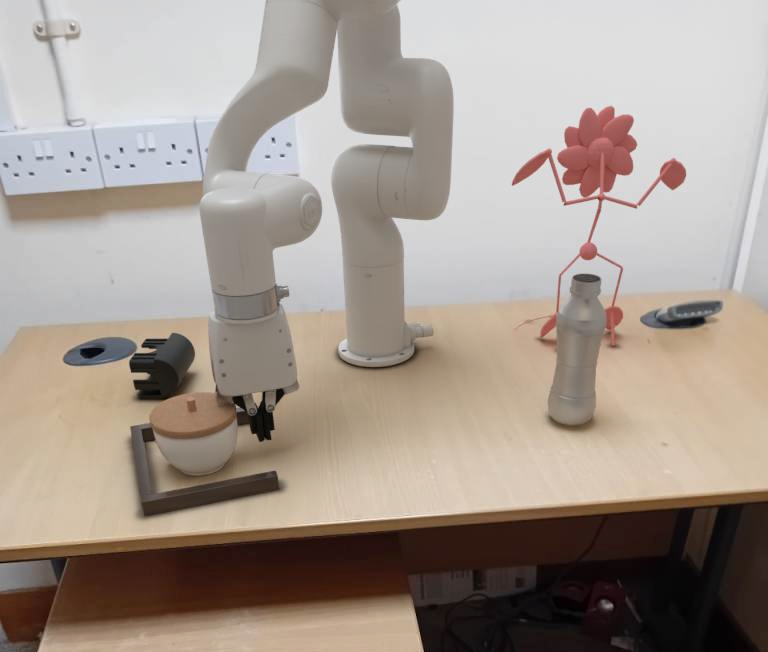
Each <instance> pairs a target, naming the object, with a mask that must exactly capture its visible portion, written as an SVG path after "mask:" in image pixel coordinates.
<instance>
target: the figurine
mask: <svg viewBox="0 0 768 652" xmlns="http://www.w3.org/2000/svg"><path fill="white" fill-rule="evenodd" d="M615 112H616V111H615V107H614V106H613V105H609V106H605V107H603V108H602V109H601V110H600V111H599V112H598V113H596V112H595V110H594V109H593V108H592V107H586V108H585V109H584V110H583V112H582V113H581V116H580V118H579V122H578V127H575V126H571V125H568V126H567V127H566V128H565V129H564V134H563V135H564V136H563V137H564V143H565V146H566V148H564V149H562V150H560V152H558V153H557V157H556V160H557V162H558V163H559V164H560V165H561V166H562V167H563V168H565V169H566V170H565V171H564V172H563V174H562V178H561V179H560V177H559V173H558V171H557V167H556V164H555V160H554V158H553V155H552V153H553V150H552V149H551V148H547V149H546V150H543V151H541V152H539V153H538V154H536V155H535V156H533V157H532V158H530V159H529V160H528V161H527V162H525V163H524V164H523V165H522V166H521V167H520V168H519V170H518V171H517V172H516V174H515V176H514V177H513V180H512V181H511V186H515V185H517V184H519V183H521V182H522V181H524V180H526V179H527V178H530V177H531V176H532V175H533V174H534V173H536V172H537V171H538V170H539V169H540V168H541V167H542V166H543V165H544V164H545V163H546V161H547V160H548V161H549V164H550V167H551V170H552V173H553V177H554V179H555V184H556V186H557V189H558V193H559V196H560V199H561V202H562V203H563V207H565V206H570V205H575V204H580V203H585V202H589V201H594V200H598V205H597V209H596V213H595V217H594V218H593V222H592V226H591V229H590V232H589V236H588V239H587V242H585V243H584V244H582V245H581V246H580V248H579V253H578V254H577V255H576V256H575V257H574V258H573V259H572V261H570V263H569V264H567V265H566V267H565V268H564V269H563V270H562V271H561V272H560V273H559V274H558V282H557V283H558V284H557V295H556V296H557V297H556V298H557V299H556V309H555V312H554V314H552V315H547V316H543V317H538V318H534V319H531V320H530V319H527V320H525V321H524V322H523V323H522V324H520V325H518V326H517V327H515V330H517V329H518V328H519V327H521V326H523V325H525V324H527V323H530V322H533V321H536V320H540V319H546V318H549V319H548V320H546V322H545V323H544V325H543V326H542V327H541V330H540V332H539V333H540V335H539V336H540V339H542V338H544V337H545V336H546V335H548V334H549V333H550V332H551V331H552V330H554V328H556V316H557V313H558V311H559V309H560V296H561V283H562V276H563V274H565V272H567V270H568V269H569V268H570V267H571V266H572V265H573V264H574V263H575V262H576V261H577V260H578V259H579V258H580V257H581V259H582V260H584V261H591V260H593V259H595V258H596V257H599V258H601V259H603V260H604V261H605V262H608V263H610V264H612V265H614V266H616V267H618V268H620V270H619V273H618V278H617V282H616V286H615V290H614V294H613V299H612V301H611V306H608V307H606V308H604V310H605V312H606V317H607V323H606V328H605V330H609V331H610V338H611V339H610V342H611V346H612V347H613V346H616V334H615V333H616V332H615V328H616V327H618V325H620V323H621V322H622V320H623V319H624V311H623V310H622V309H621V307H620V306H616V305H615V303H616V300H617V295H618V291H619V288H620V283H621V279H622V276H623V272H624V268H623V267H624V266H622V265H620V264H618V263H617V262H615V261H613V260H611V259H609V258H607V257H606V256H604V255H603V254H601V253H598V247H597V245H596V244H594V243H593V242H591V240H592V238H593V235H594V233H595V229H596V227H597V224H598V220H599V217H600V215H601V212H602V207H603V201H609V202H611V203H616V204H619V205H622V206H626V207H630V208H633V209H636V210H637V209H638V207H640V206H641V205H642V204H643V203H644V201H646V199H647V198H648V196H649V195H650V194H651V193H652V192H653V190H654V189H655V188H656V186H658V184H659V183H660V182H661V183H663V184H664V185H665V186H666V187H667V188H668V189H670V190H671V191H674V190H676V189H678V188H679V187H680V186H681V185H683V184H684V182H685V180H686V177H687V169H686V167H685V166H684V164H683V163H682V162H680V161H679V160H677V159H676V158H674V157H673V158H671V159H670V160H667V161H664V163H663V165H661V167H660V169H659V176H658V177H656V179H655V180H654V182H653V183H652V184H651V186H650V187H649V188H648V189H647V191H645V193H644V194H643V195H642V197H640V199H639V200H638V202H637V203H633V202H629V201H625V200H621V199H618V198H615V197H611V196H607V195H605V194H606V193H610V192H611V191H612V190H613V187H614V184H615V182H616V179H617V175H618V176H630V175H631V174H632V173H633V171H634V160H633V157H632V156H631V153H633V152H634V151H635V150H636V149H637V146H638V142H637V140H636V139H635V137H633V136H632V135H631V134H629V132H630V131H631V129H632V128H633V125H634V122H635V119H634V116H633V115H631V114H629V113H628V114H621V115H618V116H615V114H616V113H615ZM561 180H562V183H561ZM562 184H563V185H565V186H573V185H579V184H580V185H579V188H578V190H579V193H580V196H581V198H576V199H573V200H567V199H566V196H565V193H564V190H563V187H562ZM598 189H599V194H597V195H593V194H594V193H595V192H597V190H598ZM604 193H605V194H604ZM647 342H648V344H650V341H649V339H647Z"/></svg>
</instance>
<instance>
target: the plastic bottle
mask: <svg viewBox="0 0 768 652" xmlns="http://www.w3.org/2000/svg"><path fill="white" fill-rule="evenodd" d="M601 287H602V277H601V276H599V275H597V274H593V273H577V274H574V275H573V276H572V277H571V283H570V287H569V293H570V296H569V297H568V298H567V299H566V300H565V301H564V302H563V303H562V304H561V306H559V311H558V313H557V316H556V326H555V328H556V359H555V360H556V362H555V368H554V373H553V379H552V384H551V387H550V389H549V393H548V398H547V411H548V414H549V415H550V417H551V418H552V419H553V420H554V421H555V422H557V423H559V424H561V425H566V426H580V425H584V424H586V423H588V422H589V421H590V420H591V419H592V418H593V416H594V413H595V411H596V408H597V393H596V392H597V391H596V381H597V380H596V379H597V378H596V377H597V366H598V359H599V355H600V349H601V345H602V341H603V338H604V335H605V331H606V323H607V317H606V312H605V310H604V309H605V308H604V305H603V304H602V302H601V301H600V299H599V297H598V296H600V295H601V293H602V289H601Z"/></svg>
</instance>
